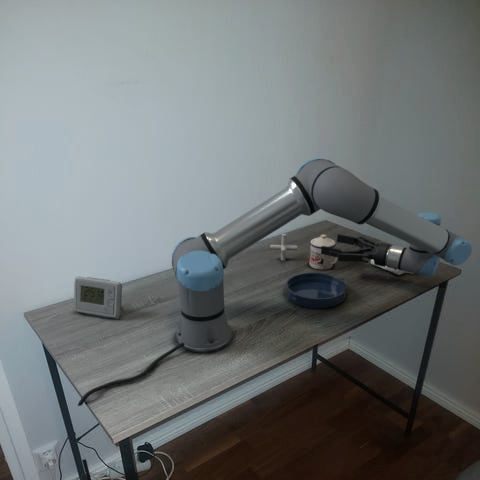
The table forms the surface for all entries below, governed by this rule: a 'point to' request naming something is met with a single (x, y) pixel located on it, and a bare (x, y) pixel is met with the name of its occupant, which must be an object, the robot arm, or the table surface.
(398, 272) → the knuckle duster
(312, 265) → the teacup with lid
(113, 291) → the digital clock
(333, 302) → the bowl
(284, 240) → the pipe connector
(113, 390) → the table surface
